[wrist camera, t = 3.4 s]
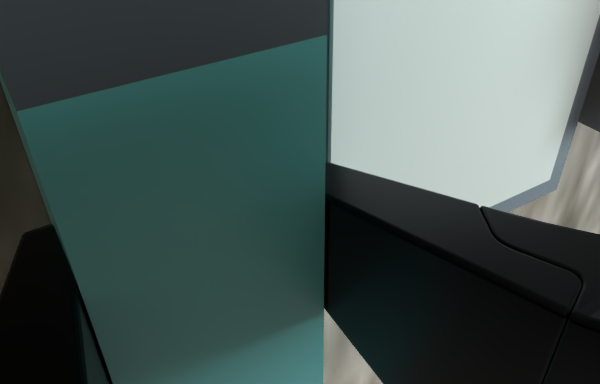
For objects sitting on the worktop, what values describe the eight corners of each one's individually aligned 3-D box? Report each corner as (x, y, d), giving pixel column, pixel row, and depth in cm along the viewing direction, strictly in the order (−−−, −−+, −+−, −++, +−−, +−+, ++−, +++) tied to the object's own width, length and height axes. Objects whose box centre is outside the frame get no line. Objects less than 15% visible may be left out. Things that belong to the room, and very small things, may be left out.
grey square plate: (288, 290, 12) (304, 311, 12) (270, -122, 8) (296, -115, 7) (538, 178, 16) (559, 191, 15) (636, -162, 11) (671, -159, 10)
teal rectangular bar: (115, 402, 11) (169, 540, 9) (-102, -200, 5) (-87, -185, 3) (249, 339, 13) (321, 450, 11) (189, -209, 7) (329, -204, 5)
